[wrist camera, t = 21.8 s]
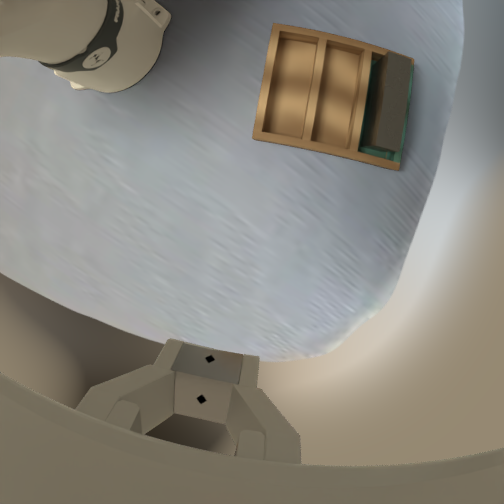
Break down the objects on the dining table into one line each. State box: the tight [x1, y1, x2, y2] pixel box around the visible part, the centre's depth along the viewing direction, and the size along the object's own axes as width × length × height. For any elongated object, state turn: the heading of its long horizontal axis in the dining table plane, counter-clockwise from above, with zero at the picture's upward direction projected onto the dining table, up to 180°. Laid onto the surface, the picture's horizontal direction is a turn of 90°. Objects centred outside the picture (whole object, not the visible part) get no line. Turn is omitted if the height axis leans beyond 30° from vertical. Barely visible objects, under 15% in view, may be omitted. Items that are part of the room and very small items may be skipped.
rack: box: [252, 23, 414, 171], centre depth 36 cm, size 16×19×4 cm
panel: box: [360, 51, 412, 152], centre depth 34 cm, size 12×3×7 cm, turn 171°
